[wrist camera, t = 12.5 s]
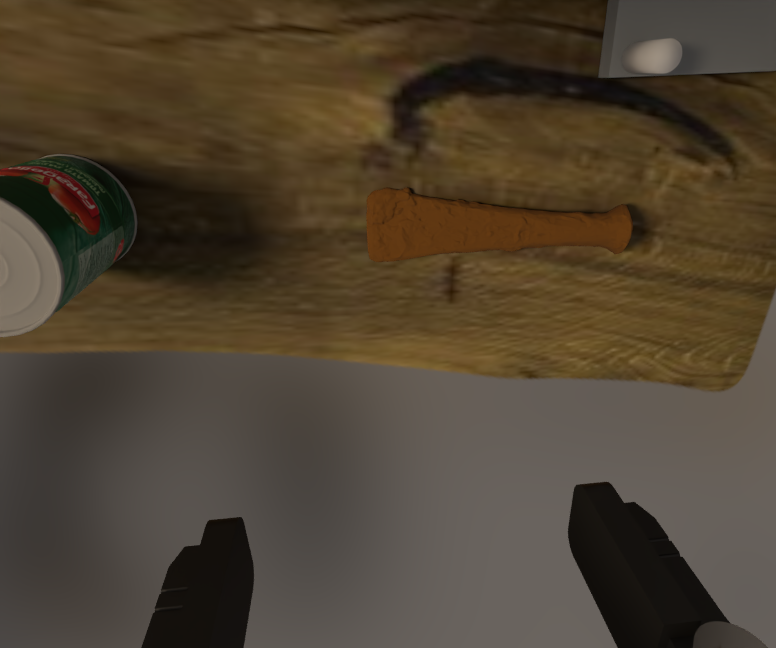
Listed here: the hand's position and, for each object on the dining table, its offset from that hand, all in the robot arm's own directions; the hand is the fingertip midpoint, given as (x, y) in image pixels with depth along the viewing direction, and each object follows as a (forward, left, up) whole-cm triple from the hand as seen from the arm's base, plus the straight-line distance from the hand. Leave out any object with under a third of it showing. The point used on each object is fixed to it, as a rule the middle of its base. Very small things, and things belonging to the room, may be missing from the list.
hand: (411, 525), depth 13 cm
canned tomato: (-15, -13, -28) cm, 34 cm away
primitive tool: (+8, +6, -29) cm, 30 cm away
